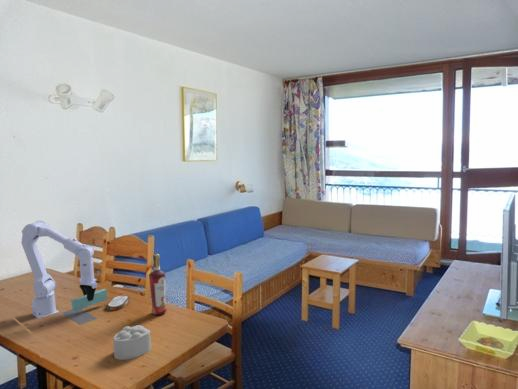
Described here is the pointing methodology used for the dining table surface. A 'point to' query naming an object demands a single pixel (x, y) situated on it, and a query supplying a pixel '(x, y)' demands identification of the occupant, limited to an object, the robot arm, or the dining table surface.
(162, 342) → the dining table surface
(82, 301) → the teal rectangular block
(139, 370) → the dining table surface
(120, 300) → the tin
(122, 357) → the lumpy-topped squat cylinder
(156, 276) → the liquor
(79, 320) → the tool mat
